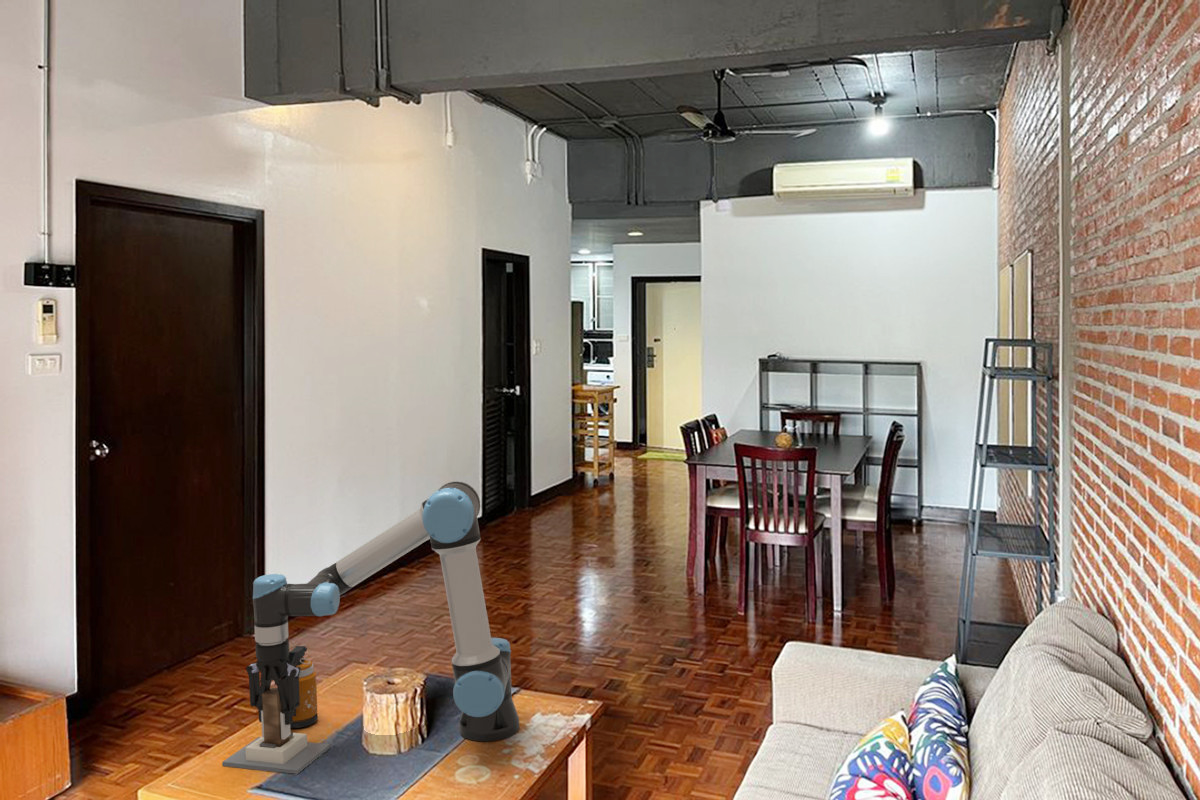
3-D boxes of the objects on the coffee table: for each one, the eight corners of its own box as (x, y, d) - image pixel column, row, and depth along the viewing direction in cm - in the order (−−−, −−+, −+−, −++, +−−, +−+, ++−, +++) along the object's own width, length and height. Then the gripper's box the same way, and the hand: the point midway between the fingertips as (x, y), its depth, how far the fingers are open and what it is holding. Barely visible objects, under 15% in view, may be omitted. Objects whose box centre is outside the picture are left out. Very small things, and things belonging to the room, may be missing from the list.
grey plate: (330, 748, 229) (329, 730, 229) (297, 774, 216) (296, 755, 215) (259, 740, 234) (258, 722, 234) (222, 765, 221) (221, 746, 220)
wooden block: (289, 745, 226) (286, 688, 225) (279, 752, 222) (276, 695, 221) (274, 743, 227) (272, 687, 226) (264, 751, 223) (262, 693, 222)
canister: (323, 716, 249) (320, 642, 247) (306, 733, 238) (302, 656, 237) (290, 715, 250) (287, 642, 248) (272, 733, 239) (268, 656, 237)
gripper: (313, 637, 224) (317, 733, 226) (249, 633, 229) (254, 726, 230) (295, 648, 217) (299, 746, 219) (230, 643, 222) (234, 739, 223)
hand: (276, 735), depth 225 cm, fingers open, 5 cm apart
